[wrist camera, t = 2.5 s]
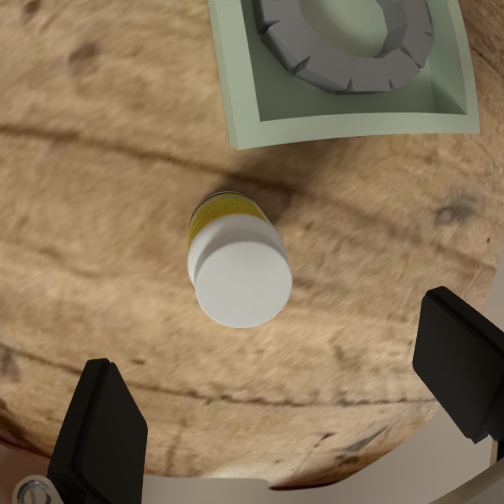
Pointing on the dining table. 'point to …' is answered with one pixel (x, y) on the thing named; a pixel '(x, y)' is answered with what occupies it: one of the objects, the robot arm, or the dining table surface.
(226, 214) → the supplement bottle
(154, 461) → the dining table surface
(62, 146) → the dining table surface
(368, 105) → the socket box
